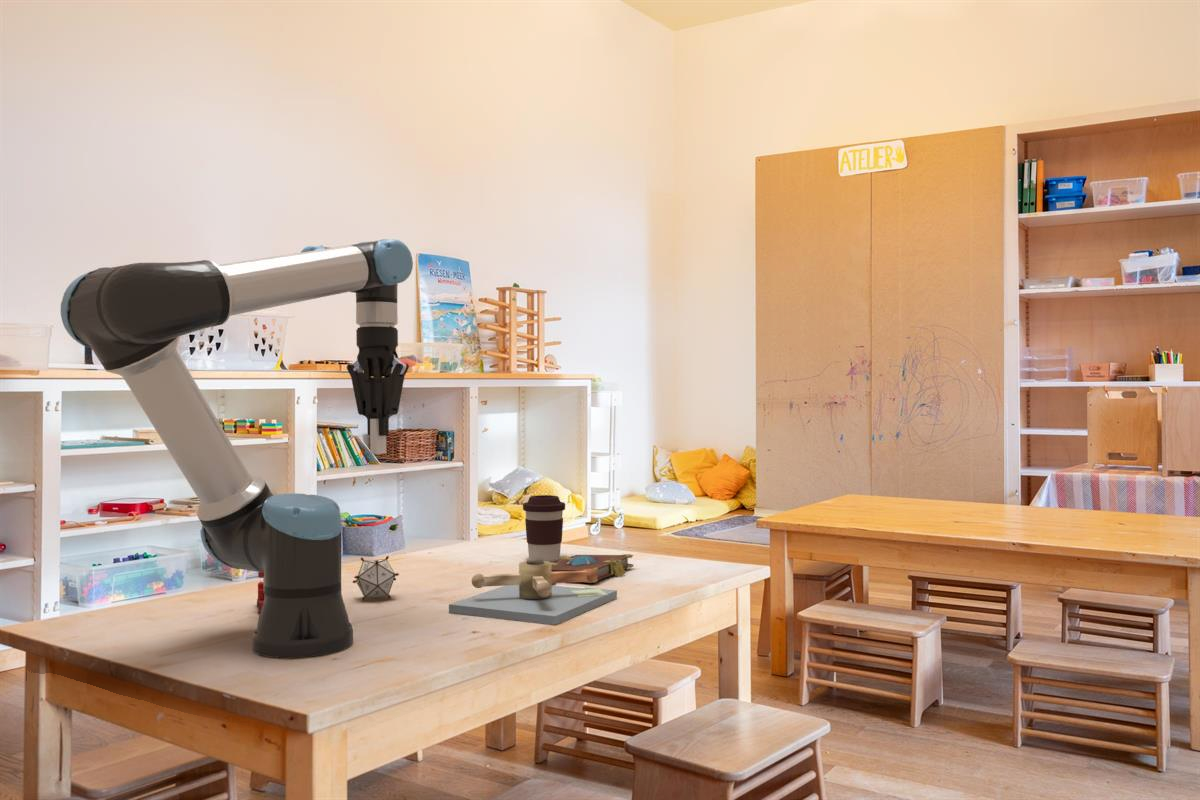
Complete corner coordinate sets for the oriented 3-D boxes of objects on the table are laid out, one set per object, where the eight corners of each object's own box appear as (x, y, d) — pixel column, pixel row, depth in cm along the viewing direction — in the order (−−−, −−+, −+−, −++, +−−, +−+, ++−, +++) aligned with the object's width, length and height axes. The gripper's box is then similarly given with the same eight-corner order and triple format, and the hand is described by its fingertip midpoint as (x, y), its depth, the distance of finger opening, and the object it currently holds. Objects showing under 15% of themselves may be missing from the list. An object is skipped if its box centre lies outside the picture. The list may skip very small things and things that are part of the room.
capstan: (477, 612, 170) (477, 573, 170) (466, 586, 193) (466, 551, 193) (611, 605, 175) (611, 567, 175) (585, 580, 198) (585, 546, 198)
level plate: (557, 625, 168) (556, 610, 168) (448, 612, 178) (448, 598, 178) (618, 598, 190) (618, 584, 190) (518, 588, 200) (518, 575, 200)
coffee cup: (569, 562, 229) (568, 498, 229) (526, 564, 227) (526, 499, 227) (561, 555, 239) (560, 493, 239) (520, 557, 237) (519, 494, 236)
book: (521, 590, 205) (519, 565, 205) (574, 570, 227) (573, 548, 227) (592, 592, 198) (590, 567, 198) (640, 571, 220) (639, 548, 220)
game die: (381, 619, 190) (384, 583, 184) (342, 602, 191) (344, 566, 185) (404, 589, 197) (408, 553, 191) (367, 572, 198) (370, 537, 192)
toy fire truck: (275, 602, 188) (274, 552, 188) (278, 618, 175) (278, 563, 175) (256, 604, 187) (256, 553, 187) (258, 620, 174) (258, 565, 174)
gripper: (417, 326, 184) (419, 453, 184) (363, 328, 190) (364, 451, 190) (392, 324, 177) (393, 455, 178) (336, 326, 183) (337, 454, 184)
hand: (378, 453), depth 184 cm, fingers closed
